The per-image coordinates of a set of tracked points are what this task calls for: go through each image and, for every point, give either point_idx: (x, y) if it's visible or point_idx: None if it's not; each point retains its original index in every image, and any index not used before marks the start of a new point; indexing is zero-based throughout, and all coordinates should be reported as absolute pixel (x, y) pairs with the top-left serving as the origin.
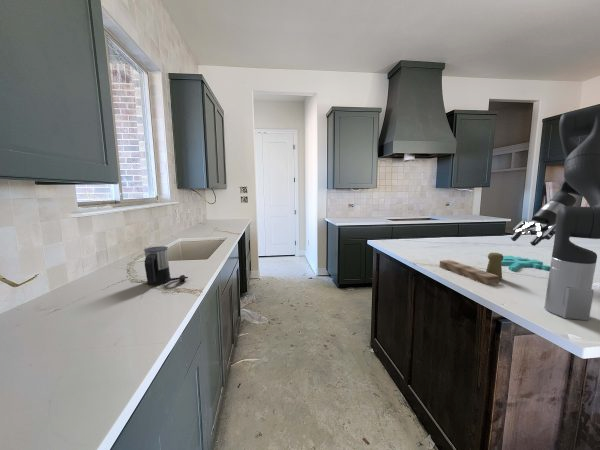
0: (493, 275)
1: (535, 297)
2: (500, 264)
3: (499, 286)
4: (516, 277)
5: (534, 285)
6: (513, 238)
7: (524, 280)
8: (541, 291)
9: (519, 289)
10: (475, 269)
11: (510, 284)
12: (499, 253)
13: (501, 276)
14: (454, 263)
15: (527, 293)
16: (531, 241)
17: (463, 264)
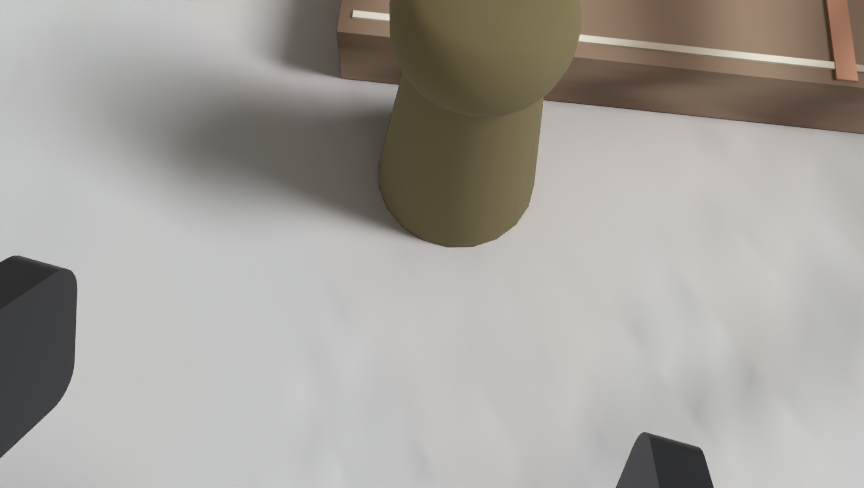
0: (375, 3)
1: (11, 23)
2: (403, 75)
3: (290, 12)
4: (355, 427)
5: (127, 324)
6: (632, 473)
7: (256, 399)
8: (25, 206)
9: (162, 86)
10: (582, 24)
11: (268, 141)
12: (475, 34)
13: (383, 166)
14: (827, 21)
15: (83, 53)
16: (27, 267)
17: (769, 72)
